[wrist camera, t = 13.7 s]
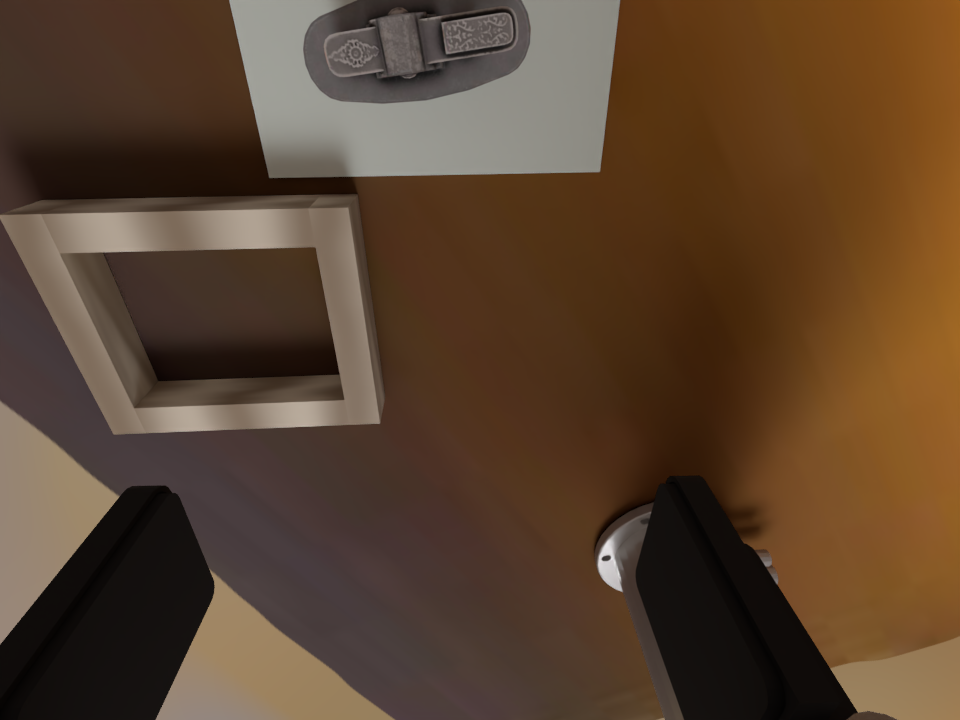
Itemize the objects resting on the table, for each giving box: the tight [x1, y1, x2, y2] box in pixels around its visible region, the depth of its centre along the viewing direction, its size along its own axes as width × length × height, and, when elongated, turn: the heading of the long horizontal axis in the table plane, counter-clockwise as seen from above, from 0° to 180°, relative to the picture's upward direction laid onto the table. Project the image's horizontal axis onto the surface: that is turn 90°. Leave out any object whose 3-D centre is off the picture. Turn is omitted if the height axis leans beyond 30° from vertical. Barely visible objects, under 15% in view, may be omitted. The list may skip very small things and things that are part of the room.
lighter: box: [303, 0, 531, 104], centre depth 19 cm, size 8×3×10 cm, turn 98°
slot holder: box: [0, 194, 385, 434], centre depth 29 cm, size 17×14×3 cm
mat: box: [229, 0, 620, 178], centre depth 23 cm, size 18×12×1 cm, turn 90°
